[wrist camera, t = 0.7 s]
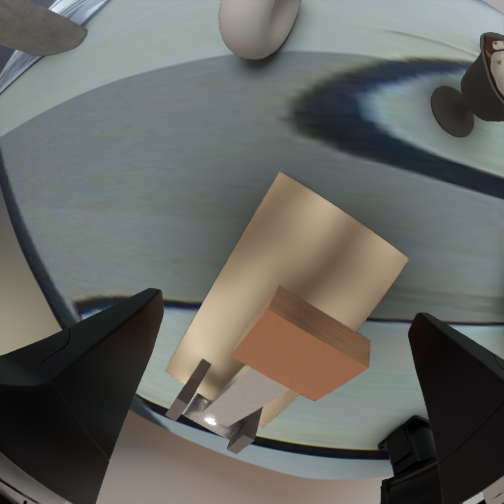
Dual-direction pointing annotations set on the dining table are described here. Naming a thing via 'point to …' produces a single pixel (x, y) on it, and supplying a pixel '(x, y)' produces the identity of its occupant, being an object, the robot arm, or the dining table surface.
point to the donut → (256, 25)
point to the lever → (283, 362)
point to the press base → (288, 276)
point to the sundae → (474, 91)
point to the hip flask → (37, 29)
